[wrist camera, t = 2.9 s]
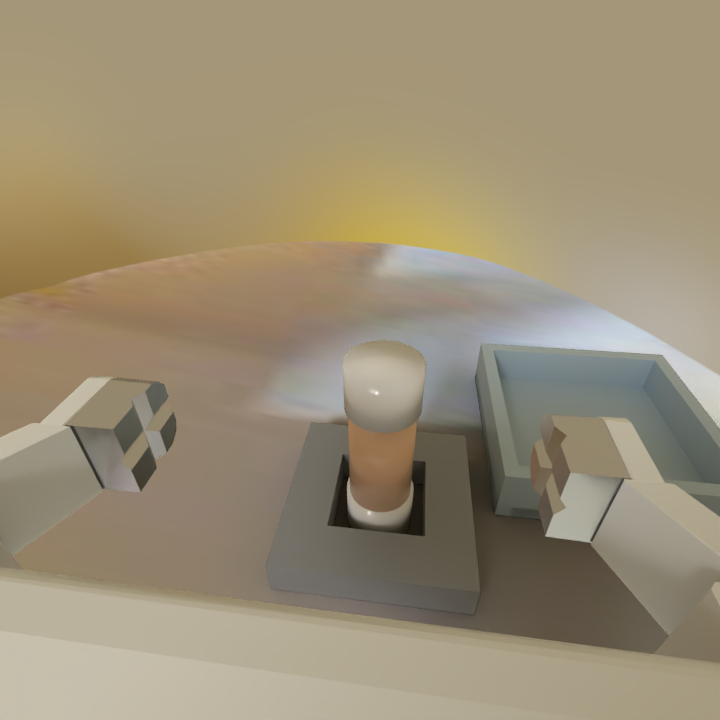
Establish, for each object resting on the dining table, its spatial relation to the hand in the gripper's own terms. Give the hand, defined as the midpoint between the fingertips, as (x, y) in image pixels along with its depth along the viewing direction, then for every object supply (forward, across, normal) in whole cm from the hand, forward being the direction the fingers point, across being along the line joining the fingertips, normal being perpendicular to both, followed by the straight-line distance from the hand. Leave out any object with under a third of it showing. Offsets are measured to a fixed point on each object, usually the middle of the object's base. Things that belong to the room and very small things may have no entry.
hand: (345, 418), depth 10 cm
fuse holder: (+12, 0, +20) cm, 23 cm away
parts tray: (+21, -16, +20) cm, 33 cm away
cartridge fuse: (+12, 0, +20) cm, 23 cm away
